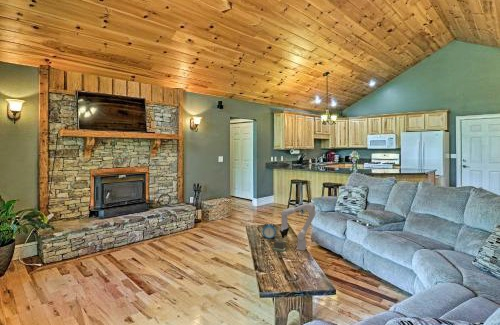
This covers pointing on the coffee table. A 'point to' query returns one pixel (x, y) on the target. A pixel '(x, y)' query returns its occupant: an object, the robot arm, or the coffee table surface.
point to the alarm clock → (269, 230)
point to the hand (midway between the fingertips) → (284, 236)
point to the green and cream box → (279, 249)
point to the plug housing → (279, 245)
